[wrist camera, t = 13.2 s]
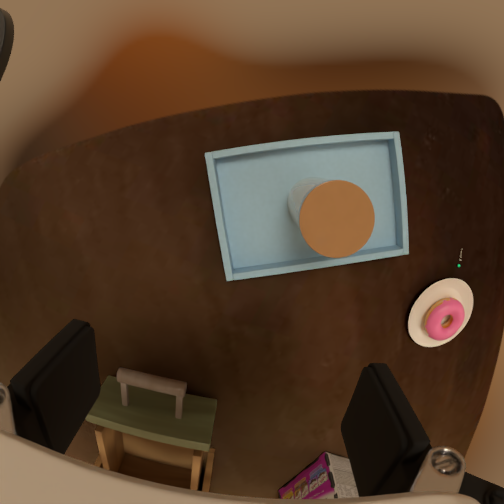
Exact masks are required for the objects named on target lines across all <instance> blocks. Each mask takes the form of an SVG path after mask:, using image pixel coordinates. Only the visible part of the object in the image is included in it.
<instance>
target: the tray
mask: <svg viewBox="0 0 504 504" xmlns="http://www.w3.org/2000/svg"><path fill="white" fill-rule="evenodd" d="M205 159H206V165H207V171H208V178H209V184H210V190H211V196H212V202H213V208H214V214H215V219H216V225H217V231H218V237H219V242H220V248H221V253H222V259H223V264H224V270H225V275H226V281H232V280H239V279H247V278H254V277H261V276H268V275H275V274H283V273H289V272H296V271H303V270H310V269H317V268H323V267H330V266H337V265H343V264H350V263H356V262H362V261H369V260H375V259H381V258H387V257H393V256H399V255H405V254H409V241H408V217H407V201H406V188H405V177H404V167H403V158H402V150H401V142H400V135H399V132H378V133H361V134H347V135H335V136H323V137H313V138H304V139H295V140H287V141H279V142H271V143H264V144H257V145H250V146H243V147H237V148H231V149H225V150H219V151H213V152H207V153H205ZM307 177H319V178H324V179H330V180H344V181H348V182H351V183H353V184H356V185H357V186H359V187H360V188H361V189H362V190H364V192H365V193H366V194H367V195H368V197H369V198H370V200H371V202H372V205H373V208H374V213H375V223H374V228H373V232H372V234H371V236H370V238H369V240H368V241H367V243H366V244H365V245H364V246H363V247H362V248H361V249H360V250H358V251H357V252H355V253H354V254H352V255H349V256H346V257H342V258H330V257H326V256H323V255H320V254H319V253H317V252H315V251H314V250H313V249H312V248H311V247H310V246H309V245H308V244H307V243H306V241H305V240H304V238H303V236H302V235H301V232H300V229H299V228H298V226H297V225H296V223H295V222H294V220H293V219H292V217H291V216H290V214H289V211H288V207H287V198H288V194H289V192H290V190H291V188H292V187H293V186H294V185H295V184H296V183H297V182H298V181H300V180H301V179H304V178H307Z"/></svg>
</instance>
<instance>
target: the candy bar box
mask: <svg viewBox="0 0 504 504" xmlns="http://www.w3.org/2000/svg"><path fill="white" fill-rule="evenodd" d="M278 492H279V499H335V498H353V497H359V495H358V491H357V487H356V483H355V480H354V476H353V472H352V468H351V465H350V461H349V458H346V457H343V456H338V455H335V454H332V453H328V452H324V453H323V454H322V455H320V456H319V457H318V458H317V459H316V460H315V461H314V462H312V463H311V464H310V465H309V466H308V467H307V468H305V469H304V470H303V471H302V472H301V473H300V474H298V475H297V476H296V477H295V478H293V479H292V480H291V481H290V482H289V483H287V484H286V485H285V486H283V487H282V488H281V489H280V490H278Z"/></svg>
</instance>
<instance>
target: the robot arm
mask: <svg viewBox="0 0 504 504" xmlns="http://www.w3.org/2000/svg"><path fill="white" fill-rule="evenodd" d="M10 382H11V384H10V385H9V386H8V387H6V386H5V385H4V384H2V383H0V504H504V488H502V487H500V486H498V485H495V484H493V483H490V482H488V481H485V480H483V479H481V478H478V477H476V476H474V475H471V474H469V473H467V472H465V469H466V463H465V460H464V458H463V456H462V455H461V454H460V453H459V452H458V451H457V450H455V449H453V448H450V447H447V446H437V447H434V448H432V447H431V445H430V440H429V438H428V436H427V434H426V432H425V431H424V429H423V427H422V425H421V423H420V421H419V420H418V418H417V416H416V414H415V412H414V411H413V409H412V407H411V405H410V404H409V402H408V400H407V398H406V397H405V395H404V393H403V391H402V390H401V388H400V386H399V384H398V383H397V381H396V379H395V378H394V376H393V374H392V373H391V371H390V369H389V367H388V366H387V365H386V364H383V363H370V364H369V365H368V367H364V368H363V370H362V373H361V375H360V378H359V381H358V383H357V386H356V389H355V391H354V394H353V396H352V399H351V401H350V404H349V406H348V408H347V411H346V413H345V416H344V418H343V420H342V423H341V432H342V436H343V439H344V443H345V446H346V450H347V454H348V457H349V461H350V465H351V468H352V472H353V476H354V480H355V483H356V487H357V491H358V495H359V497H353V498H335V499H272V498H256V497H243V496H233V495H224V494H216V493H209V492H202V491H196V490H190V489H184V488H179V487H174V486H169V485H164V484H160V483H155V482H151V481H147V480H143V479H139V478H135V477H131V476H127V475H124V474H120V473H117V472H113V471H110V470H107V469H104V468H101V467H97V466H94V465H91V464H89V463H86V462H83V461H80V460H77V459H75V458H72V457H69V456H66V455H64V453H65V452H66V450H67V448H68V447H69V445H70V443H71V441H72V440H73V438H74V436H75V435H76V433H77V431H78V430H79V428H80V426H81V425H82V423H83V421H84V420H85V418H86V416H87V415H88V413H89V411H90V410H91V408H92V407H93V405H94V403H95V402H96V400H97V398H98V397H99V395H100V390H101V387H100V379H99V372H98V363H97V354H96V344H95V333H94V329H93V328H92V327H90V324H89V323H88V322H85V321H81V320H77V319H73V320H72V321H71V322H70V323H68V324H67V325H66V326H65V327H64V328H63V329H62V330H61V331H60V332H59V333H58V334H57V335H56V336H55V337H54V338H53V339H51V340H50V341H49V342H48V343H47V344H46V345H45V346H44V347H43V348H42V349H41V350H40V351H39V352H38V353H37V354H36V355H35V356H34V357H33V358H32V359H31V360H30V361H29V362H28V363H27V364H26V365H25V366H24V367H23V368H22V369H21V370H20V371H19V372H18V373H17V374H16V375H15V376H14V377H13V378H12V379H11V380H10Z"/></svg>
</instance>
